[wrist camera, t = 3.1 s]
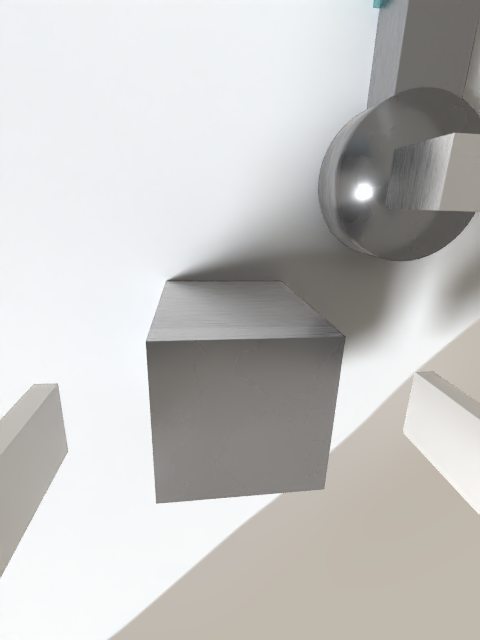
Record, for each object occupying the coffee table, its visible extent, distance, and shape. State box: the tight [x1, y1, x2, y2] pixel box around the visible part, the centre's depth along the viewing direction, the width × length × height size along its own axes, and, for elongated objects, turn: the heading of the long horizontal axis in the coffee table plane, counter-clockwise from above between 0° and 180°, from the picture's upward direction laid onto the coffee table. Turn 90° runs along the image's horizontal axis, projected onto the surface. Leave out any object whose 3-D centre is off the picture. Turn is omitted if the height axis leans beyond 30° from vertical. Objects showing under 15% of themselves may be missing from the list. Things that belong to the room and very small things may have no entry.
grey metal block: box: [146, 281, 345, 504], centre depth 15 cm, size 6×6×8 cm
